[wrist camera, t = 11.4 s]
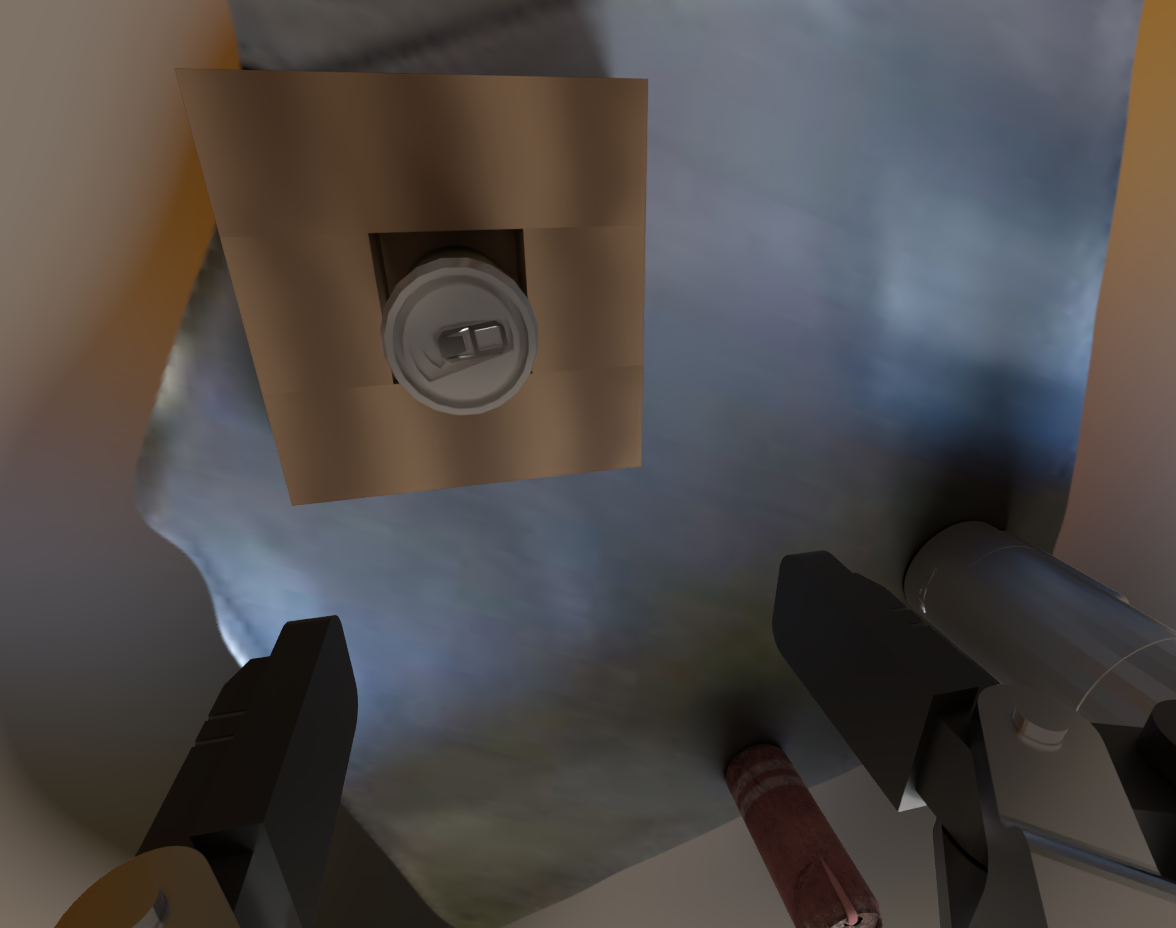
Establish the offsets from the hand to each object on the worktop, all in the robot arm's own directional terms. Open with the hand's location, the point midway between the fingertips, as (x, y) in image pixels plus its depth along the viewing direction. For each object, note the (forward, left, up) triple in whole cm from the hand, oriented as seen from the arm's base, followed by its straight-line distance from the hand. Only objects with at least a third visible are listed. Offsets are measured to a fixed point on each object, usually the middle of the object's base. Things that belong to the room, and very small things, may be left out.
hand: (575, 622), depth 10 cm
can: (-20, +40, -24) cm, 51 cm away
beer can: (+2, -3, -23) cm, 23 cm away
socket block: (+2, -3, -24) cm, 24 cm away
